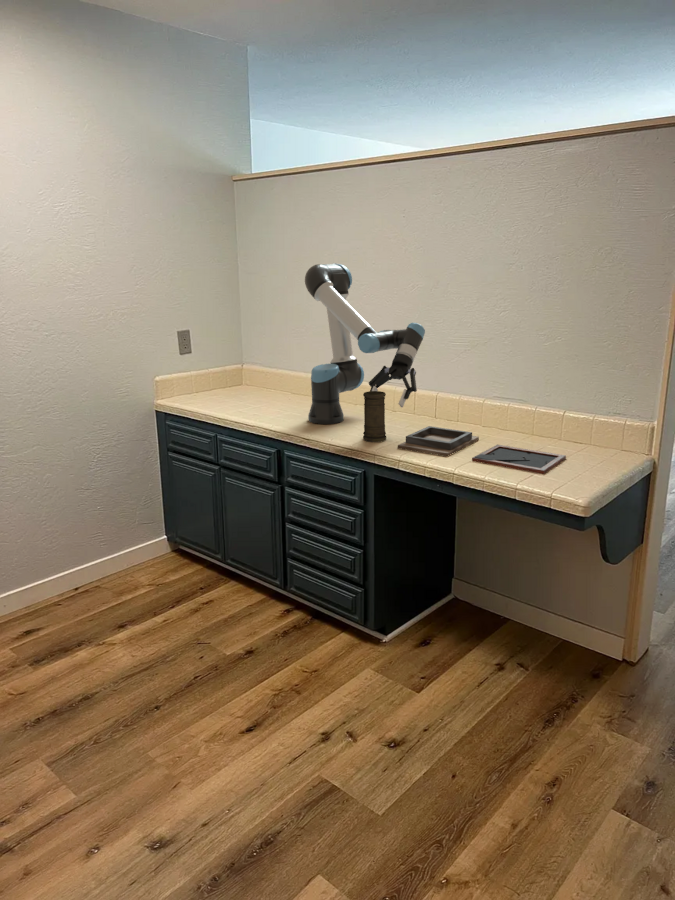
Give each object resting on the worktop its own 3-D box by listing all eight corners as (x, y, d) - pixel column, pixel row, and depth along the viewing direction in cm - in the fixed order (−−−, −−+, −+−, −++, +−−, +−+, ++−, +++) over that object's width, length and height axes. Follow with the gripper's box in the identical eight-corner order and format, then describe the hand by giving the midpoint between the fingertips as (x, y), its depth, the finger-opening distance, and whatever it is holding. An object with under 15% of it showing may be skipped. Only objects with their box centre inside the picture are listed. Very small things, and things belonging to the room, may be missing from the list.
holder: (431, 432, 265) (431, 423, 264) (478, 439, 254) (479, 430, 253) (397, 448, 245) (397, 438, 244) (447, 456, 234) (447, 446, 233)
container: (384, 442, 252) (384, 395, 247) (361, 441, 254) (360, 394, 249) (387, 436, 261) (388, 390, 256) (364, 435, 263) (364, 390, 258)
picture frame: (471, 462, 229) (543, 475, 214) (472, 457, 228) (543, 469, 214) (497, 449, 244) (565, 460, 229) (497, 443, 244) (566, 454, 229)
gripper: (436, 366, 259) (417, 412, 252) (380, 362, 273) (361, 405, 266) (429, 354, 254) (410, 401, 246) (373, 350, 268) (353, 395, 260)
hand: (384, 403), depth 256 cm, fingers open, 13 cm apart
